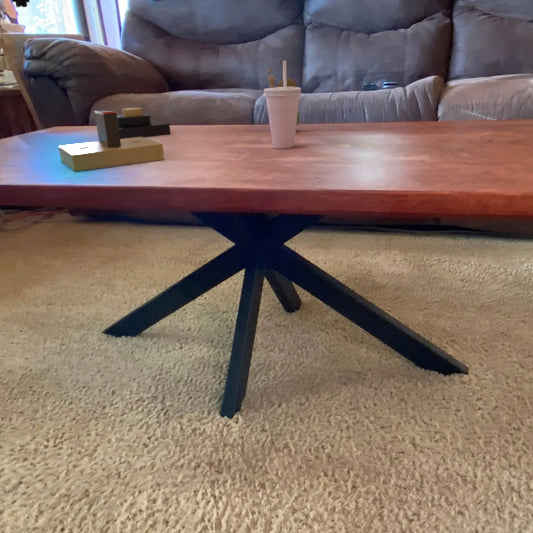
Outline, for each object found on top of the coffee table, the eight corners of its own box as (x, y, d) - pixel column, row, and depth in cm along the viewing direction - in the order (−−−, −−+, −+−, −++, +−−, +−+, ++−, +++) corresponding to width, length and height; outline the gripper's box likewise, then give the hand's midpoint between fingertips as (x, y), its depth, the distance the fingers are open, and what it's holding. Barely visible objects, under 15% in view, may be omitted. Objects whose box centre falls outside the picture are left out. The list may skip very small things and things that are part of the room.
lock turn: (99, 143, 83) (94, 109, 81) (111, 141, 84) (106, 108, 82) (108, 147, 79) (103, 112, 77) (121, 146, 80) (116, 111, 78)
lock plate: (74, 171, 75) (71, 153, 74) (61, 161, 83) (58, 144, 82) (164, 159, 82) (162, 142, 81) (143, 150, 90) (141, 135, 89)
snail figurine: (274, 129, 110) (272, 69, 105) (302, 129, 107) (302, 68, 103) (265, 132, 105) (263, 70, 100) (294, 133, 103) (294, 70, 98)
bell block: (113, 141, 101) (110, 120, 100) (100, 135, 109) (97, 116, 108) (170, 134, 107) (168, 114, 105) (154, 129, 115) (152, 111, 113)
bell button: (126, 119, 104) (125, 110, 104) (120, 117, 107) (119, 108, 107) (145, 117, 106) (144, 108, 105) (139, 115, 109) (138, 107, 109)
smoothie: (309, 146, 89) (309, 59, 83) (279, 151, 85) (277, 61, 80) (286, 142, 94) (285, 60, 88) (258, 146, 90) (254, 61, 85)
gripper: (40, -98, 98) (58, 8, 105) (-49, -108, 91) (-23, 7, 98) (47, -108, 92) (65, 5, 99) (-47, -119, 85) (-20, 4, 92)
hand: (21, 6), depth 99 cm, fingers closed
